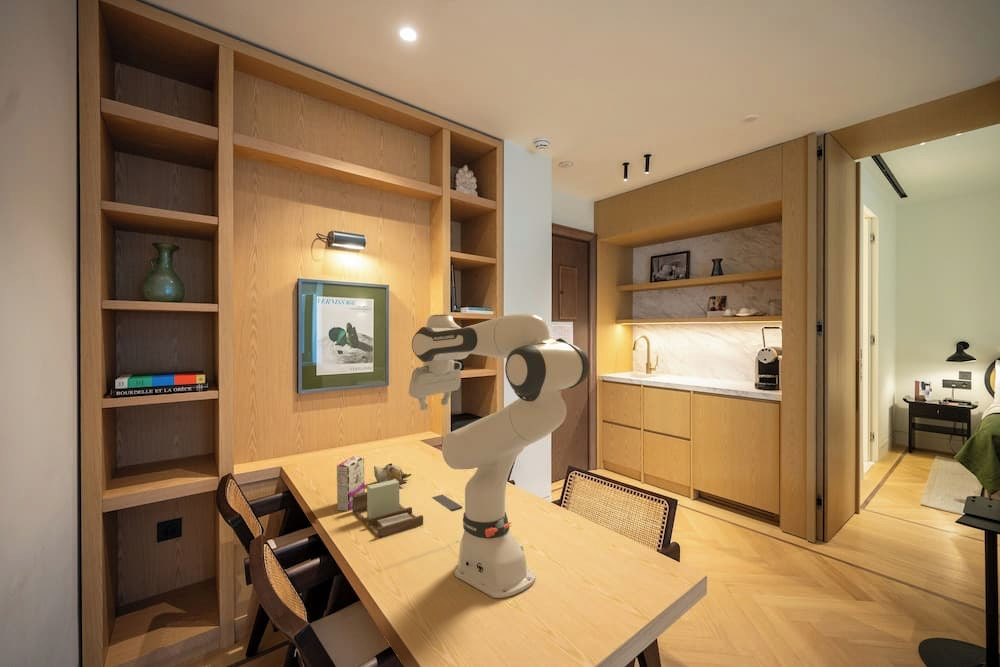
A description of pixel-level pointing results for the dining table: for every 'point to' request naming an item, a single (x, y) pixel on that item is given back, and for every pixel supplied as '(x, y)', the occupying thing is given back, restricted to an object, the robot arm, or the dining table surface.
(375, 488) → the beige rectangular block
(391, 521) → the upper offcut
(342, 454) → the dining table surface
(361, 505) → the frame
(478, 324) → the robot arm
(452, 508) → the rubber mat
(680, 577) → the dining table surface
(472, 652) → the dining table surface
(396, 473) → the ceramic sculpture
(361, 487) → the candy bar box
